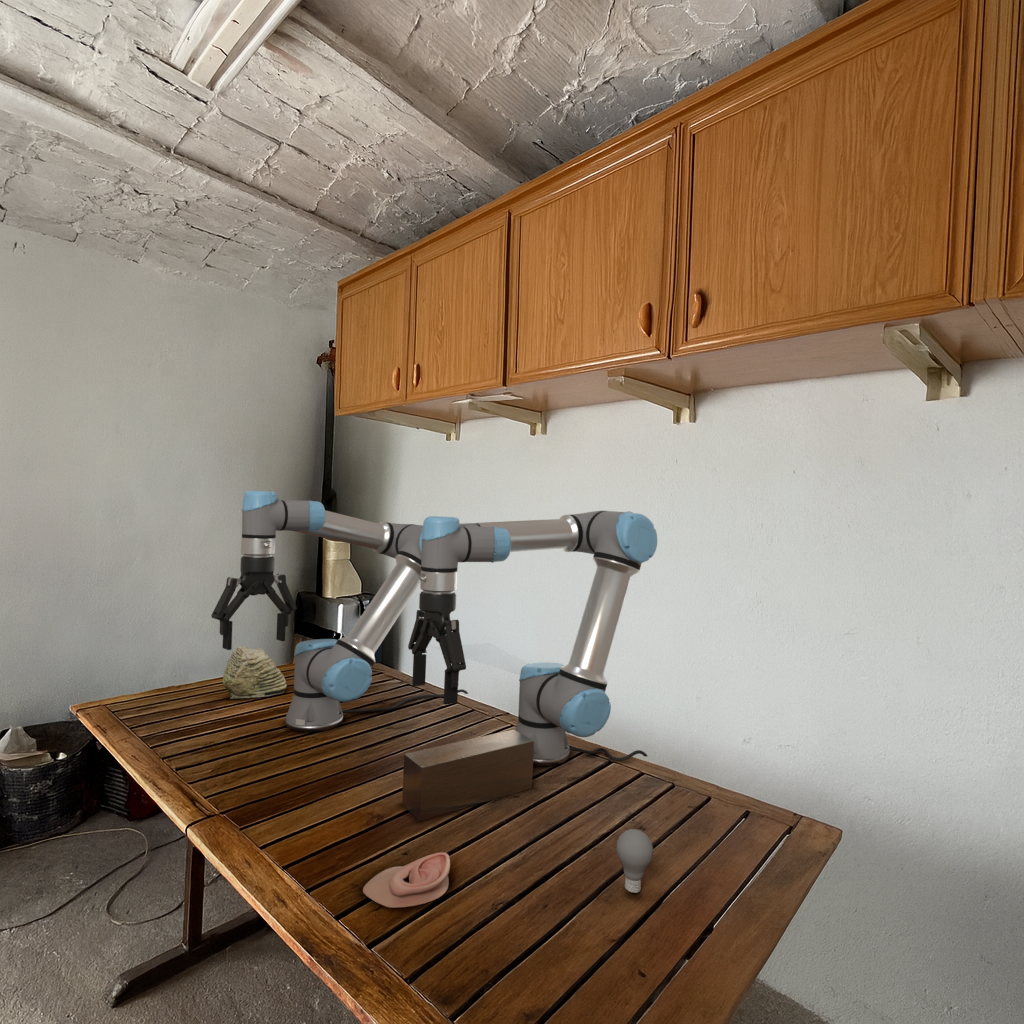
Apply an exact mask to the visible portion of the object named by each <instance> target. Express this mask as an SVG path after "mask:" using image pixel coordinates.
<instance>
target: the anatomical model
mask: <svg viewBox="0 0 1024 1024" xmlns="http://www.w3.org/2000/svg"><path fill="white" fill-rule="evenodd" d="M450 870H451V858H450V855H449V854H448V853H447V852H445V851H444V852H442V851H441V852H440V851H439V852H435V853H432V854H429V855H425V856H423V857H420V858H418V859H416V860H414V861H412V862H410V863H407V864H405V865H402V866H401V865H400V866H399V865H398V866H392V867H388V868H386V869H384V870H382V871H380V872H379V873H377V874H376V875H374V876H373V877H372V878H371V879H369V881H367V882H366V883H365V885H364V886H363V888H362V892H363V894H364V895H365V896H366V897H367V898H368V899H370V900H372V901H373V902H375V903H377V904H379V905H381V906H383V907H386V908H390V909H391V908H392V909H393V908H395V909H396V908H407V907H415V906H420V905H424V904H427V903H430V902H432V901H435V900H436V899H439V898H440V897H442V896H443V895H444V894H446V892H447V891H448V889H449V884H450V883H449V880H450V879H449V873H450Z"/></svg>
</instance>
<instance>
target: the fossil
mask: <svg viewBox="0 0 1024 1024" xmlns="http://www.w3.org/2000/svg"><path fill="white" fill-rule="evenodd" d="M222 676H223V677H222V685H223V687H224V688H225V690H226V691H228V693H229V698H230V699H250V698H264V697H271V696H275V695H281V694H284V693H285V691H286V689H287V687H288V686H287V680H286V678H285V676H284V674H283V673H282V672H281V669H279V668H278V667H277V665H276V663H275V662H274V660H273V659H272V658H271V657H270V656H269V655H268V654H267V653H266V652H265V650H264V649H263V648H260V647H258V648H251V647H247V646H246V647H245V646H238V647H237V648H236V649H235V650H233V651H232V653H231V656H230V657H229V659H228V660H227V663H226V666H225V668H224V671H223V675H222Z"/></svg>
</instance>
